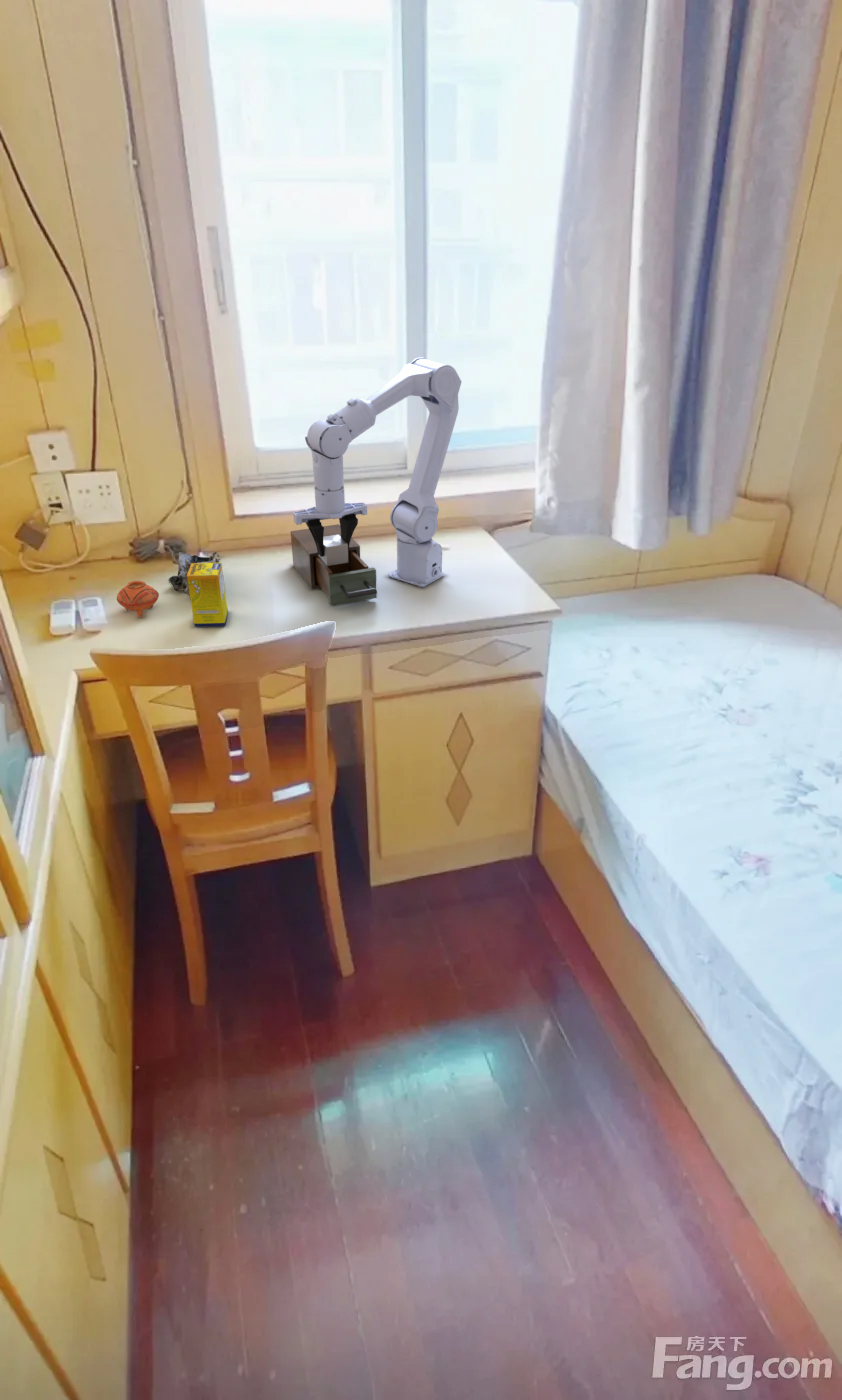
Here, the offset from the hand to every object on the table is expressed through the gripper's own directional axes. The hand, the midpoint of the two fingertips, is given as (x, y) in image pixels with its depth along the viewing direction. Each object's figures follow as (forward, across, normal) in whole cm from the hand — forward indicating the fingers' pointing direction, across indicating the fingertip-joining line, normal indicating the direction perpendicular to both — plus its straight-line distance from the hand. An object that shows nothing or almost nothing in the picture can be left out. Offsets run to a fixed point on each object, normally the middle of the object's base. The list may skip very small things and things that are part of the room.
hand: (332, 552), depth 167 cm
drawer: (+9, +2, -2) cm, 9 cm away
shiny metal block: (+1, 0, 0) cm, 1 cm away
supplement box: (+10, -26, 0) cm, 28 cm away
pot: (+10, -38, +9) cm, 40 cm away
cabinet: (+10, +2, +12) cm, 16 cm away
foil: (+10, -25, +15) cm, 31 cm away
